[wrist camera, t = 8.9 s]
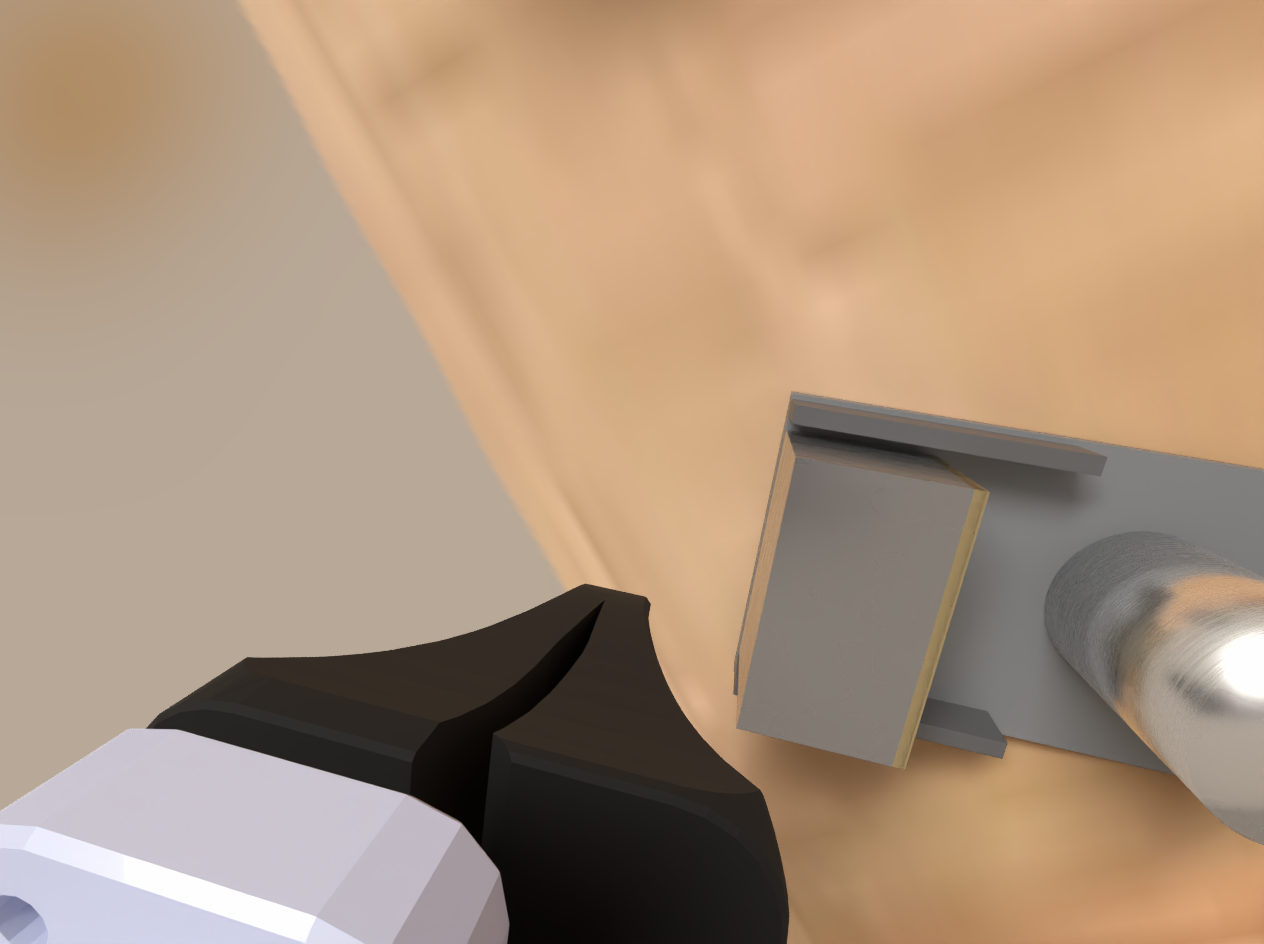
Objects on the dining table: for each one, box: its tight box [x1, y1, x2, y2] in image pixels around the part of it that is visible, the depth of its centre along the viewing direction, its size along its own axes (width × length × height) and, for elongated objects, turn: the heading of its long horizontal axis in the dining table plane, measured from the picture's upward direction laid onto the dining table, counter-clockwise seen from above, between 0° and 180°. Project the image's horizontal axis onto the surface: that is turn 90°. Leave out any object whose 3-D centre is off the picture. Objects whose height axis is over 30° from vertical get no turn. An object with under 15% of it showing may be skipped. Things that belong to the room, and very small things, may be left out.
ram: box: [736, 430, 990, 770], centre depth 16 cm, size 4×7×4 cm, turn 171°
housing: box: [1044, 531, 1264, 845], centre depth 14 cm, size 4×4×7 cm
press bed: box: [733, 392, 1264, 775], centre depth 15 cm, size 18×9×6 cm, turn 82°
